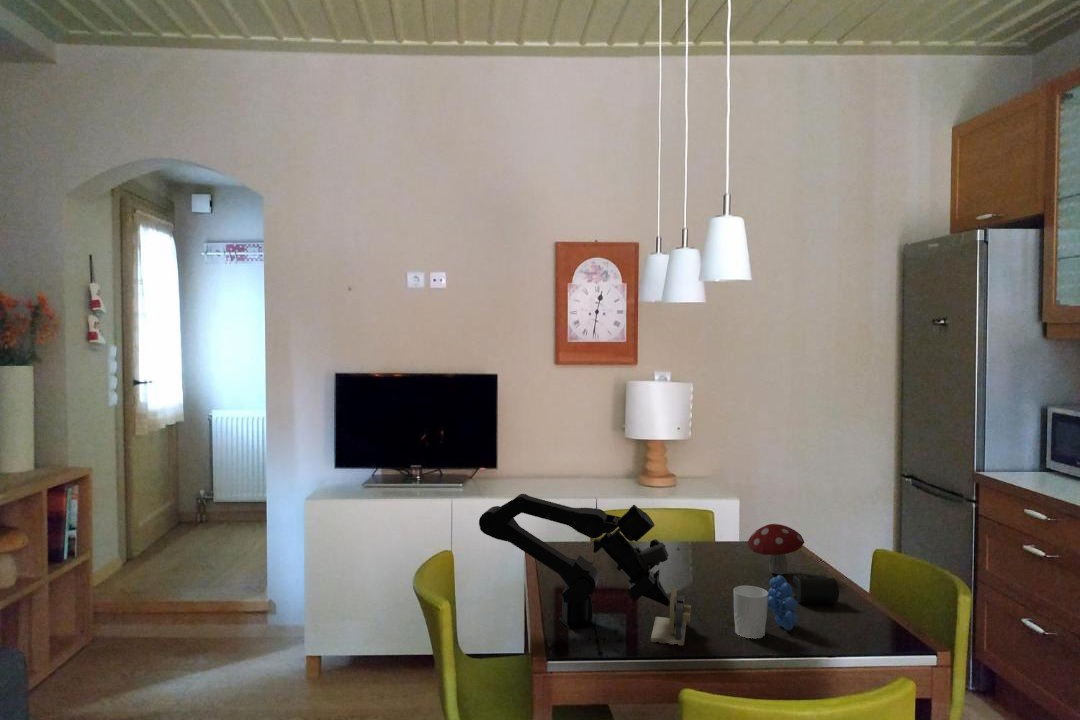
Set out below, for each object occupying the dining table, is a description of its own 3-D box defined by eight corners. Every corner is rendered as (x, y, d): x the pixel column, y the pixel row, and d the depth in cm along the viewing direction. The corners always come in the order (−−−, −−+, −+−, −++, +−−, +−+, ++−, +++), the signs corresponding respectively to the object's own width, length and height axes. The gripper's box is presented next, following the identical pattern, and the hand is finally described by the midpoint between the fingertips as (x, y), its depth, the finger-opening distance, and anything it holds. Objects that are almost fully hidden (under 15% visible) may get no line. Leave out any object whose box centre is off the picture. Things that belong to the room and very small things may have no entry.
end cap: (800, 607, 190) (801, 581, 189) (790, 597, 197) (791, 572, 196) (839, 607, 190) (840, 582, 190) (827, 598, 197) (828, 573, 197)
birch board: (651, 641, 167) (651, 637, 167) (655, 620, 179) (655, 616, 179) (683, 645, 165) (683, 641, 165) (686, 623, 177) (686, 619, 177)
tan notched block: (669, 634, 168) (670, 599, 168) (671, 620, 176) (672, 587, 176) (689, 636, 167) (690, 601, 167) (690, 622, 175) (691, 589, 174)
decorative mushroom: (802, 586, 205) (803, 533, 205) (743, 578, 211) (745, 527, 211) (804, 570, 220) (805, 520, 219) (749, 563, 226) (750, 514, 225)
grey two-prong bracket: (674, 639, 166) (674, 610, 166) (676, 619, 177) (677, 592, 177) (682, 640, 165) (682, 611, 165) (684, 620, 177) (685, 593, 177)
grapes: (753, 618, 182) (754, 570, 181) (778, 616, 183) (780, 568, 183) (777, 637, 170) (778, 586, 170) (803, 635, 172) (805, 584, 171)
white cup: (747, 642, 167) (748, 599, 167) (725, 629, 175) (726, 587, 174) (774, 637, 170) (775, 594, 170) (752, 624, 178) (753, 583, 177)
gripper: (644, 542, 163) (693, 596, 161) (651, 522, 182) (696, 570, 179) (608, 574, 166) (656, 628, 163) (619, 551, 184) (662, 599, 181)
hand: (669, 604), depth 172 cm, fingers closed, pressing on tan notched block
